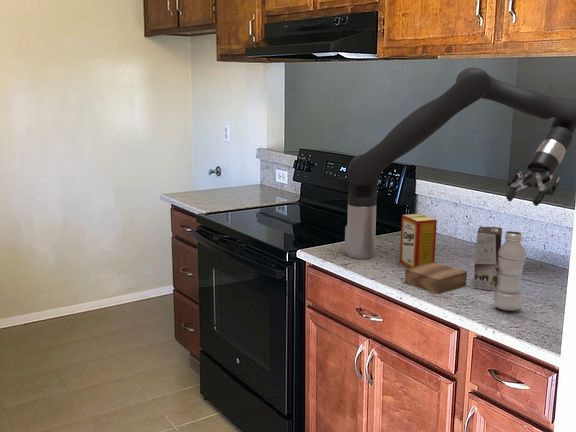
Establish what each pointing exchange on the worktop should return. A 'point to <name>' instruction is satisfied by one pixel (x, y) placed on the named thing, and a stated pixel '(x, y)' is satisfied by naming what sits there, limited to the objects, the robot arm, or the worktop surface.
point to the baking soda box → (417, 240)
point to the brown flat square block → (435, 277)
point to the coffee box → (487, 258)
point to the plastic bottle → (510, 273)
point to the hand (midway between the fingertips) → (521, 201)
